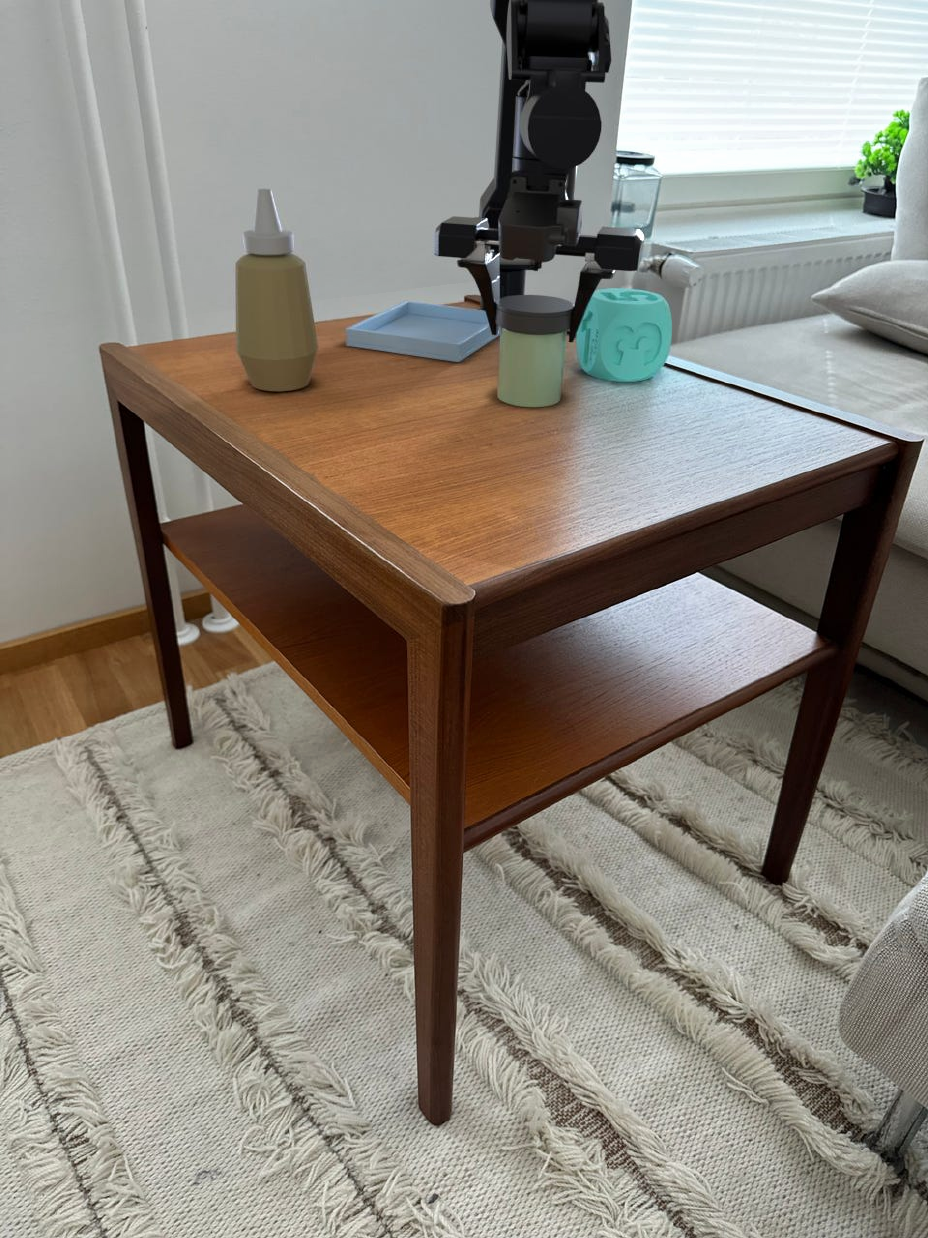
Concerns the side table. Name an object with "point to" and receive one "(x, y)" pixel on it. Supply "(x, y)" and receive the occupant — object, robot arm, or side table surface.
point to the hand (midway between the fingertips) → (532, 337)
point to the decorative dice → (624, 335)
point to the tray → (423, 331)
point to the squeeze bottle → (273, 305)
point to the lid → (534, 314)
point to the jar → (530, 368)
